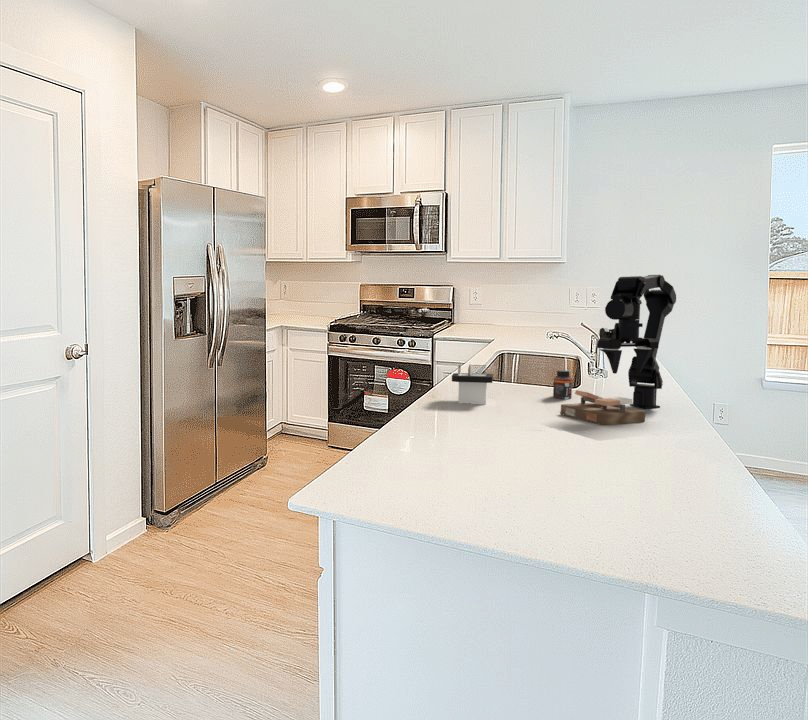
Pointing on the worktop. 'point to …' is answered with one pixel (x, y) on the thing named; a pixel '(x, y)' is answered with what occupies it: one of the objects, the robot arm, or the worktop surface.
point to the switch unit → (602, 413)
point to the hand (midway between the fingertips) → (626, 373)
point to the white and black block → (472, 385)
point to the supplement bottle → (562, 385)
